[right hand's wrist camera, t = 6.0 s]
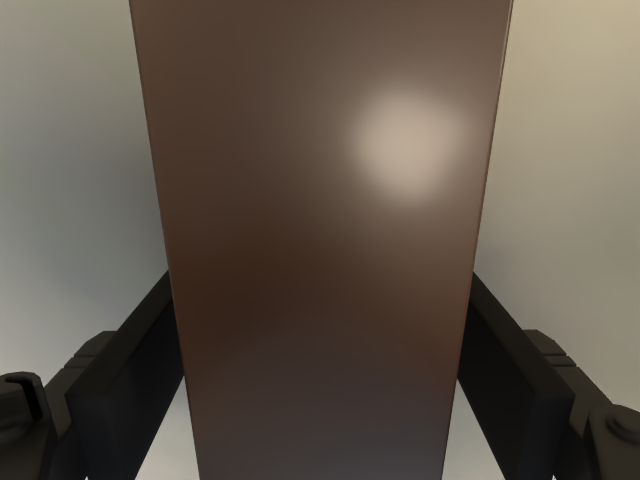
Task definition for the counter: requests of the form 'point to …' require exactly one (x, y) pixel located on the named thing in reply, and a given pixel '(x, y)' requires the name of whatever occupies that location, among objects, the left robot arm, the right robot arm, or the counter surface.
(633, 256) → the counter surface
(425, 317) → the walnut beam
